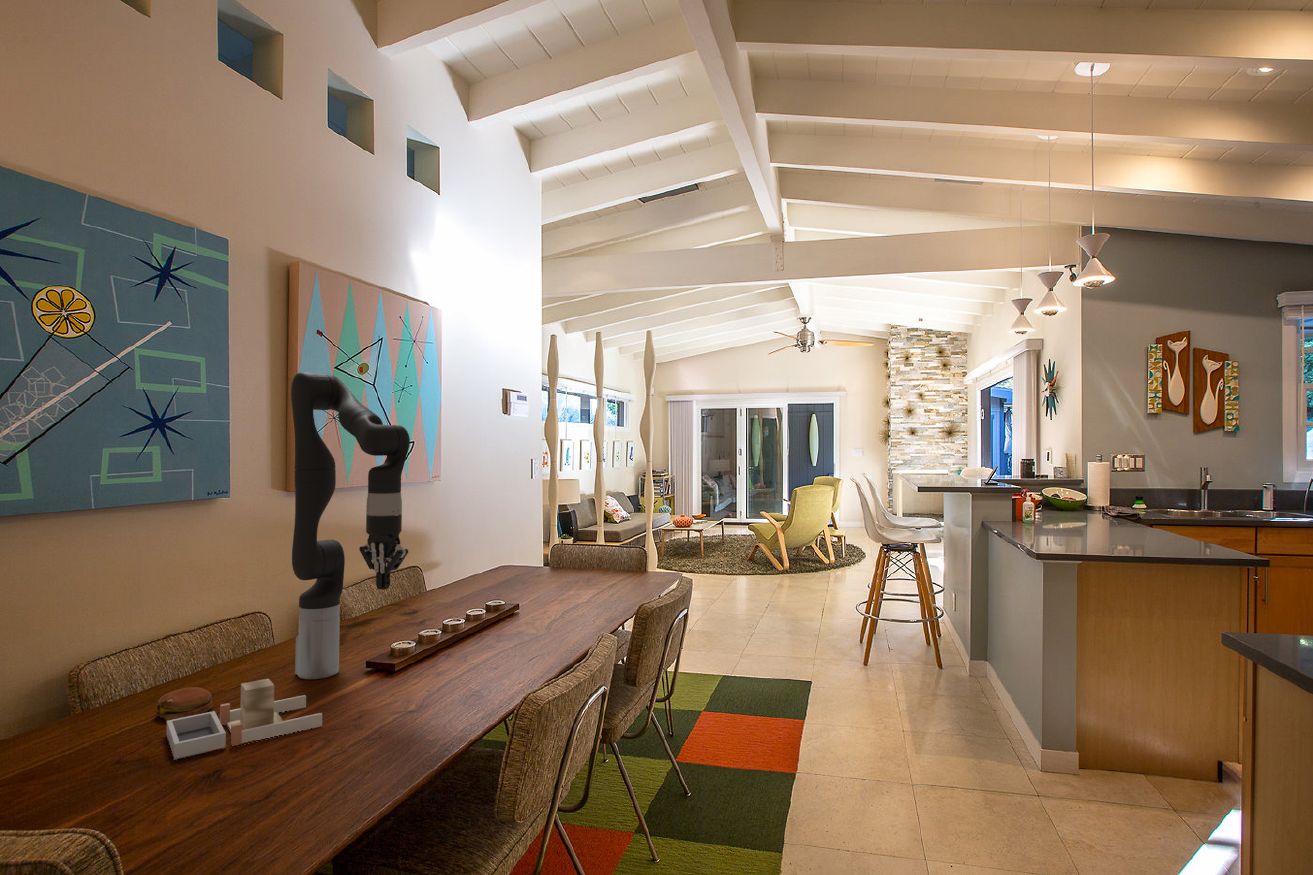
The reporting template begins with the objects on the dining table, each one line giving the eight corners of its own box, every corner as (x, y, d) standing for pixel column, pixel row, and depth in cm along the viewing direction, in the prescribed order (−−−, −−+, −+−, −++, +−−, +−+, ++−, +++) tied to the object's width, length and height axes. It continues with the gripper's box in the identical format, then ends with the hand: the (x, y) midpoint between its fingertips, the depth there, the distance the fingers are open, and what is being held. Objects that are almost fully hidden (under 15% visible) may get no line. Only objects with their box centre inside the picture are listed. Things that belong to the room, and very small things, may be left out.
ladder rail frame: (304, 705, 153) (305, 687, 153) (322, 726, 142) (322, 706, 142) (219, 724, 143) (220, 704, 143) (231, 747, 132) (232, 726, 132)
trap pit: (214, 725, 142) (214, 711, 142) (225, 748, 131) (225, 732, 131) (166, 736, 137) (166, 720, 137) (174, 760, 126) (174, 744, 126)
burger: (219, 703, 154) (219, 682, 154) (200, 720, 145) (200, 698, 145) (169, 706, 152) (170, 685, 152) (147, 723, 143) (147, 701, 143)
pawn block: (276, 717, 147) (276, 673, 147) (286, 731, 140) (287, 685, 140) (226, 728, 141) (227, 683, 141) (235, 743, 134) (236, 695, 134)
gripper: (349, 512, 157) (348, 589, 157) (393, 515, 152) (392, 595, 152) (375, 509, 164) (374, 583, 164) (418, 512, 158) (417, 588, 158)
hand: (383, 588), depth 158 cm, fingers closed
